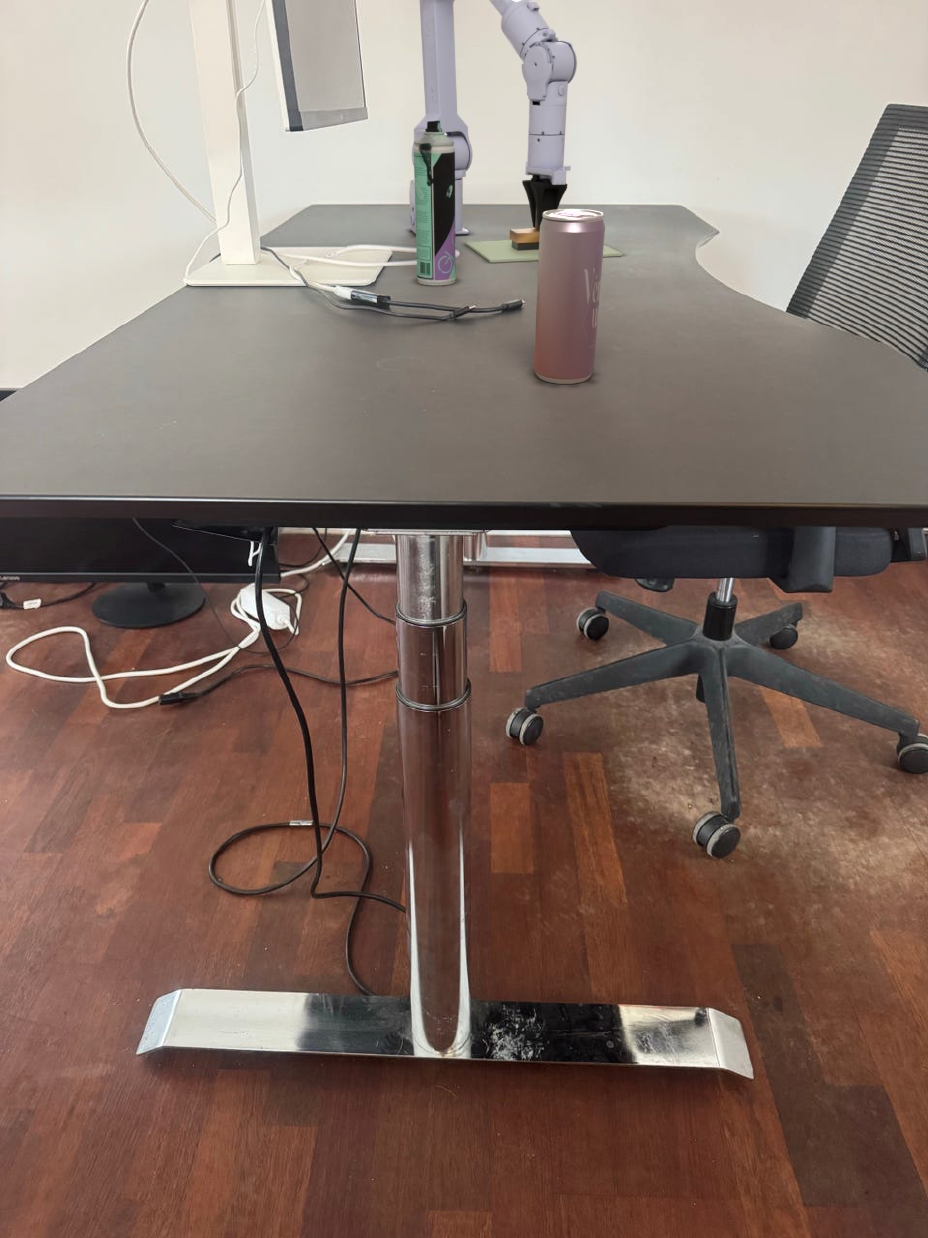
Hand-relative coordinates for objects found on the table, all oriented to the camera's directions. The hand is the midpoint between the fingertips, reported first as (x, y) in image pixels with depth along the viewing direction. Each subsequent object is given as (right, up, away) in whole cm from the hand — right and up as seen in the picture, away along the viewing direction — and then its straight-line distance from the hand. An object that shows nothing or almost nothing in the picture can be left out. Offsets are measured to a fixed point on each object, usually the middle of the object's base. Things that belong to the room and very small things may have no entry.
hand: (542, 228), depth 143 cm
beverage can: (-3, -40, -55) cm, 68 cm away
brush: (0, -2, +2) cm, 3 cm away
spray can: (-17, -16, -18) cm, 29 cm away
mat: (0, -3, +2) cm, 3 cm away
